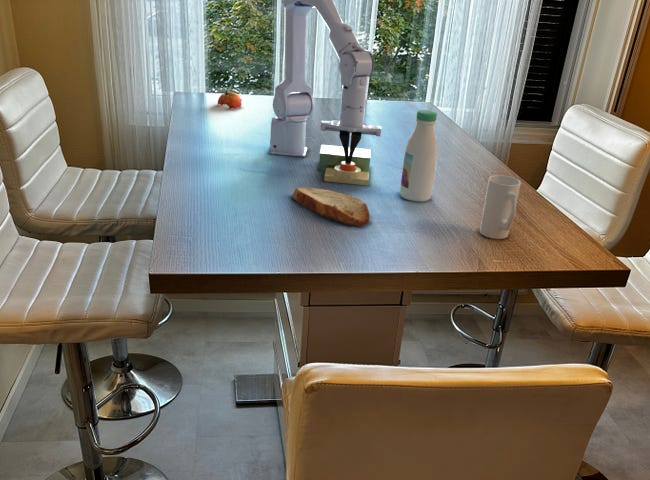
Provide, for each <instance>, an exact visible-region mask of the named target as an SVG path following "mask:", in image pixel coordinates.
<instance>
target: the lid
mask: <svg viewBox="0 0 650 480" xmlns="http://www.w3.org/2000/svg"><path fill="white" fill-rule="evenodd" d="M371 151H372V150H371V149H368V148H359V147H356V149H355V151H354V153H353V156H352V159H361V160H370V161H371V156H372V155H371V153H372V152H371ZM349 152H350V147H349ZM320 155H321V156H331V157H341V158H345V154H344V149H343V146H338V145H329V144H321V146H320V151H319V156H320Z"/></svg>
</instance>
